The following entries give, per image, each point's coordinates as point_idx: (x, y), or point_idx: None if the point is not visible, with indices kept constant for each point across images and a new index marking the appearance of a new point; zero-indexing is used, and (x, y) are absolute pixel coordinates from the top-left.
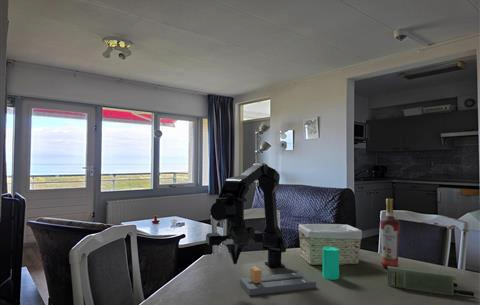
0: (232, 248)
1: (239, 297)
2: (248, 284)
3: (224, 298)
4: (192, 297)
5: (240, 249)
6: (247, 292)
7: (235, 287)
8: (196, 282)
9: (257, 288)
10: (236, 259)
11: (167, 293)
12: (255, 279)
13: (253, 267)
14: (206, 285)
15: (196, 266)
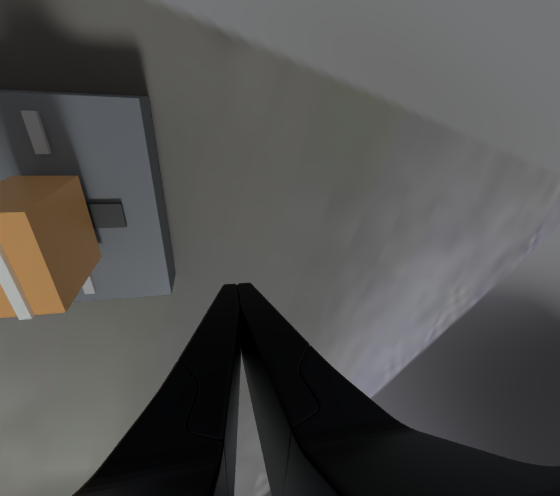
0: (370, 447)
1: (222, 88)
2: (130, 188)
3: (315, 105)
4: (450, 171)
5: (150, 449)
6: (153, 138)
7: (210, 239)
8: (365, 319)
9: (62, 95)
10: (228, 311)
11: (508, 238)
12: (54, 184)
13: (33, 302)
14: (339, 286)
15: None
